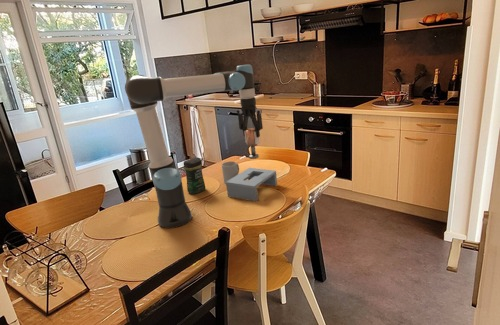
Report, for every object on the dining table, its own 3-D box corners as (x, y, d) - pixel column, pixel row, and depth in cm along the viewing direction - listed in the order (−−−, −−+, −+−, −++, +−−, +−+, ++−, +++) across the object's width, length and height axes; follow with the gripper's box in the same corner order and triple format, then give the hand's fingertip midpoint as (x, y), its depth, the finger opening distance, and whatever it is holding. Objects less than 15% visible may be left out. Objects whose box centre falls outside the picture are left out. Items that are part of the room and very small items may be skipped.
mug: (232, 185, 186) (230, 167, 182) (220, 183, 191) (218, 165, 187) (245, 178, 195) (243, 160, 191) (233, 176, 200) (231, 158, 196)
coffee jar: (194, 195, 178) (189, 162, 172) (185, 192, 183) (179, 160, 177) (208, 189, 184) (203, 157, 179) (199, 186, 190) (194, 155, 184)
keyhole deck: (255, 201, 163) (254, 186, 161) (227, 196, 172) (225, 182, 170) (277, 184, 181) (276, 170, 178) (250, 180, 190) (249, 167, 187)
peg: (255, 159, 171) (252, 130, 166) (247, 158, 173) (243, 130, 169) (260, 156, 175) (258, 128, 170) (252, 155, 178) (249, 127, 173)
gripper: (267, 95, 162) (271, 142, 170) (236, 96, 172) (241, 140, 179) (259, 98, 156) (264, 146, 164) (228, 99, 166) (233, 144, 174)
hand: (252, 142), depth 172 cm, fingers closed on peg, 5 cm apart
